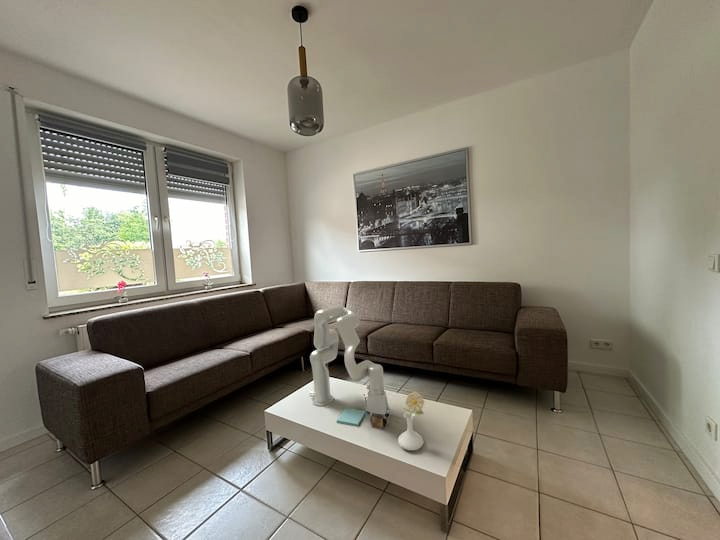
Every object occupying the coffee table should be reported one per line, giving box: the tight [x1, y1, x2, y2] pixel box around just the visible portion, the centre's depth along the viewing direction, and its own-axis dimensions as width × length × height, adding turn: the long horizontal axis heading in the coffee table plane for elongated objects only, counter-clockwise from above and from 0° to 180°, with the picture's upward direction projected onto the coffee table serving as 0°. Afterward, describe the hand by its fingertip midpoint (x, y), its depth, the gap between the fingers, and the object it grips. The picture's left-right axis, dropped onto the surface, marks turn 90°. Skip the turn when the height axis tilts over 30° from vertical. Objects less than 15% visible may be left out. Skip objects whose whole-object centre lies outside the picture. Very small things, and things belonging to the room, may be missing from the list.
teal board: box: [336, 407, 367, 427], centre depth 151 cm, size 12×12×1 cm
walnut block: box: [371, 413, 384, 430], centre depth 144 cm, size 6×6×5 cm
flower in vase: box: [397, 391, 425, 451], centre depth 127 cm, size 13×11×25 cm
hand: (378, 423), depth 144 cm, fingers closed on walnut block, 5 cm apart
